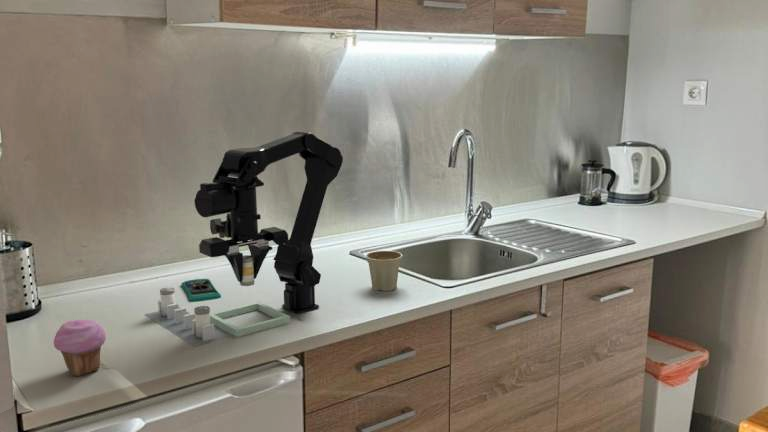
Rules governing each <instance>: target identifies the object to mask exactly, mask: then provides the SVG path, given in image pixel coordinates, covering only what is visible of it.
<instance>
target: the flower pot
mask: <svg viewBox="0 0 768 432" xmlns="http://www.w3.org/2000/svg"><path fill="white" fill-rule="evenodd" d="M365 258H366V261H367V263H368V267H369V273H370V274H369V275H370V280H371V287H372V289H374V290H375V291H379V290H380V291H383V292H387V291H392V290H395V289H396V288H397V286H398V278H399V269H400V263H401V261H402V258H403V254H402V253H401V252H399V251H394V250H375V251H371V252H368V253H366V254H365Z"/></svg>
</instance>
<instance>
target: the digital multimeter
mask: <svg viewBox="0 0 768 432" xmlns="http://www.w3.org/2000/svg"><path fill="white" fill-rule="evenodd" d="M180 286H181V288H182V289H183V290H184V291H185V293H186V295H187V298H188V300H189V302H201V301H209V300H215V299H221V298H222V295H221V293H220V292H219V291H218V290H217V289H216V288H215V286H214V284H213V283H212V281H211V280H210V279H209V278H195V279H190V280H184V281H183V282H182V283H181V285H180Z"/></svg>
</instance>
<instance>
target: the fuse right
mask: <svg viewBox="0 0 768 432" xmlns="http://www.w3.org/2000/svg"><path fill="white" fill-rule="evenodd" d="M193 310H194V312H193V313H195V325H196V338H199V339H202V326H204V325H208V324H211V322H210V314H211V308H210V306H208V305H200V306H196V307H194V308H193Z"/></svg>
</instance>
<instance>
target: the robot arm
mask: <svg viewBox="0 0 768 432" xmlns="http://www.w3.org/2000/svg"><path fill="white" fill-rule="evenodd" d="M297 154H298V156H299V157H300V158H301V159H303V160H304V161H305V162H304V172H305V177H306V183H305V185H304V186H305V187H304V190H303V193H302V197H301V200H300V204H299V206H298V211H297V213H296V216H295V220H294V224H293V226H292V230H291V234H290V237H289V233H288V232H287V231H286V230H285V229H282V228H281V227H277V226H272V227H271V226H270V227H265V228H261V229H260V231H259V225H258V220H261V214H259V213H258V206H257V205H258V203H257V188H260V187H263V186H264V185H265V183H264V181H262V180H261V179H260V178H259V177H258V176H259V175H261V174H262V173H263V172H265V170H266V169H267V167H268V166H270V165H271V164H274V163H276V162H279V161H281V160H285V159H287V158H289V157H292V156H295V155H297ZM343 160H344V157H343V155H342V152H341V151H340V149H339V148H338V147H335V146H332V145H331V144H329V143H327V142H325V141H323V140H322V139H319V138H318V137H317V136H316V135H315V134H313V133H312V132H309V131H298V130H297V131H295V132H293V133H291V134H289V135H287V136H284V137H280V138H278V139H275V140H273V141H270V142H267V143H264V144H261V145H259V146H256V147H241V148H232V149H229V150H227V151H225V153H224V155H223V158H222V161H221V164H220V165H219V168H218V170H217V171H216V173H215V175H214V177H213V179H212V182H203V183H200V185H199V187H200V189H199V190H198V191H197V192H196V194H195V198H194V201H193V202H194V207H195V210H196V211H197V213H198V215H199V216H201V217H202V218H210V217H215V216H218V215H219V216H220V215H224V214H226V217H225V218H226V220H223V221H222V219H221V218H220V217H219V218H212V219H211V220H209V229H210V234H211V235H218V236H219V237H218V236H215V237H210V238H204V239H201V241H200V242H199V245H198V248H199V249H198V251H199V253H200V254H202V255H204V256H208V257H210V258H219V257H223V256H224V257H226V259H227V261H228V262H229V264H230V266H231V269H232V270H233V271H232V272H233V273H234V275H235V278H236V280H237V282H238V283H240V282H242V277H243V256H244V253H243V252H240V251H239V250H240V249H239V248H240V247H245V246H247V248H248V249H249V252H250V256H253V265H254V280H255V279H257V276H258V275H259V273H260V270H261V267H262V265H263V263H264V261H265V259H266V257H267V255H268V254H269V251H271V250H273V246H271V245H270V242H272V243H274V244H275V245H277V249H276V253H275V256H274V257H273V259H272V260H273V261H274V264H273V268H274V269H275V272H276V273H277V275H278V279H279V282H282V283H284V290H283V303H282V304H281V307H282V308H283V309H285V310H288V311H290V312H293V313H295V314H300V313H303V312H307V311H312V310H316V309H318V308H320V305H319V304H317V303H316V298H315V297H316V295H315V292H316V289H315V287H316V285H318V284H320V281H321V276H322V274H321V273H320V272H319V271H318V270H317V269H316V268H315V267H314V266H313V263H314V253H313V249H312V245H311V244H312V240H313V237H314V234H315V231H316V227H317V222H318V220H319V217H320V213H321V210H322V205H323V202H324V198H325V195H326V192H327V189H328V186H329V185H330V184H331V183H332V181H334V180H335V178H337V176H338V175H339V172H340V170H341V168H342V165H343ZM224 238H227V239H224ZM228 238H230V239H228Z"/></svg>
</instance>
